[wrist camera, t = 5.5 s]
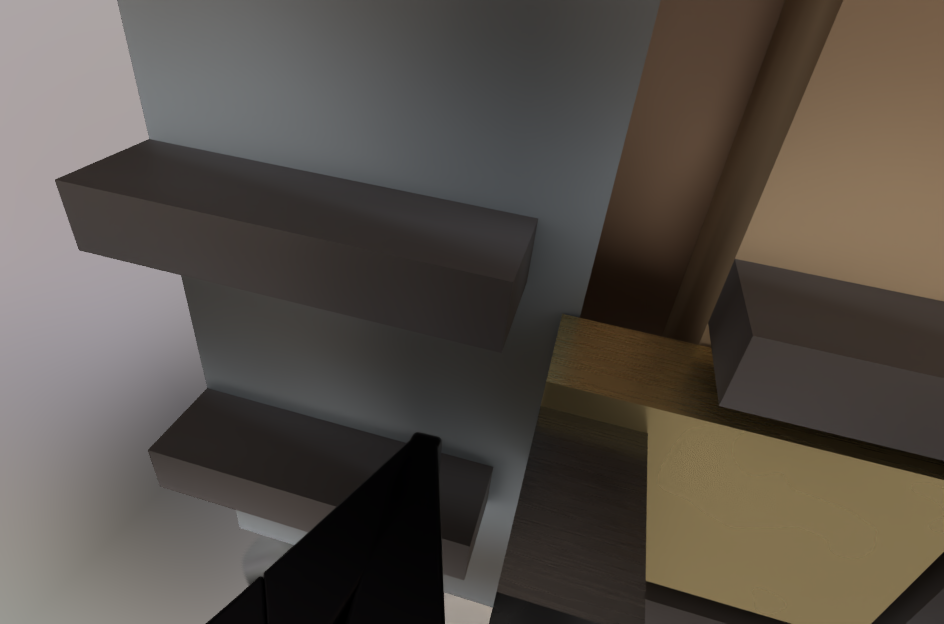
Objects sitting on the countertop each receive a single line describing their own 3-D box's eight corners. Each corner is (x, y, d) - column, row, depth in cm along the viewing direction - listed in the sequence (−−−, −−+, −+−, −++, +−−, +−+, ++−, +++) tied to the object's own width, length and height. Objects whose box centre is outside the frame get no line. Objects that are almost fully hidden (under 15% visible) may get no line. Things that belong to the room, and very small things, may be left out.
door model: (770, 568, 19) (814, 820, 13) (314, 440, 21) (203, 610, 16) (1274, -130, 8) (2365, -219, 3) (254, -223, 11) (-133, -362, 5)
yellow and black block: (827, 549, 11) (916, 875, 7) (526, 467, 12) (466, 720, 8) (945, 401, 9) (1164, 766, 5) (562, 313, 10) (501, 566, 6)
